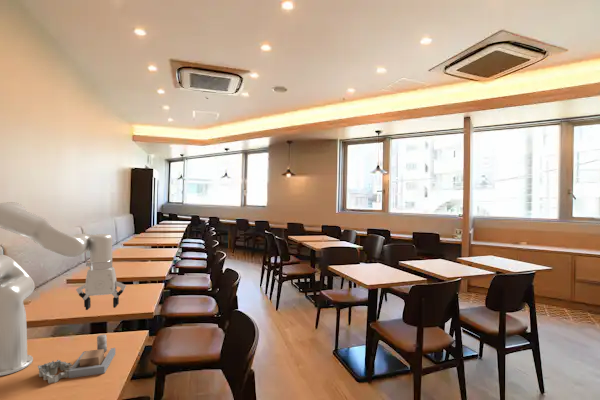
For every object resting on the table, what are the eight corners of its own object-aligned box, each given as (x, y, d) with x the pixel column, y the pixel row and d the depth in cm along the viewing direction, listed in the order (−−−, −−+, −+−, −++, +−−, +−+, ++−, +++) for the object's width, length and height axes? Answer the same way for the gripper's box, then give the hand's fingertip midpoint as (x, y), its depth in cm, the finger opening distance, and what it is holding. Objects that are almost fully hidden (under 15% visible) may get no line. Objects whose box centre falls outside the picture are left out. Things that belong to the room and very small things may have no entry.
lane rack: (68, 378, 110) (68, 371, 109) (83, 357, 123) (83, 351, 122) (104, 373, 113) (104, 366, 112) (115, 353, 126) (115, 347, 125)
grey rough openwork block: (74, 375, 112) (73, 364, 111) (48, 386, 105) (47, 374, 105) (61, 365, 118) (61, 354, 117) (36, 375, 111) (36, 364, 111)
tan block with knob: (79, 373, 113) (79, 355, 112) (95, 351, 128) (94, 335, 127) (98, 370, 114) (98, 353, 114) (111, 349, 129) (111, 333, 129)
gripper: (72, 268, 119) (72, 313, 120) (123, 266, 124) (123, 309, 125) (80, 264, 127) (80, 306, 127) (127, 262, 131) (128, 302, 132)
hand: (101, 307), depth 126 cm, fingers open, 9 cm apart
